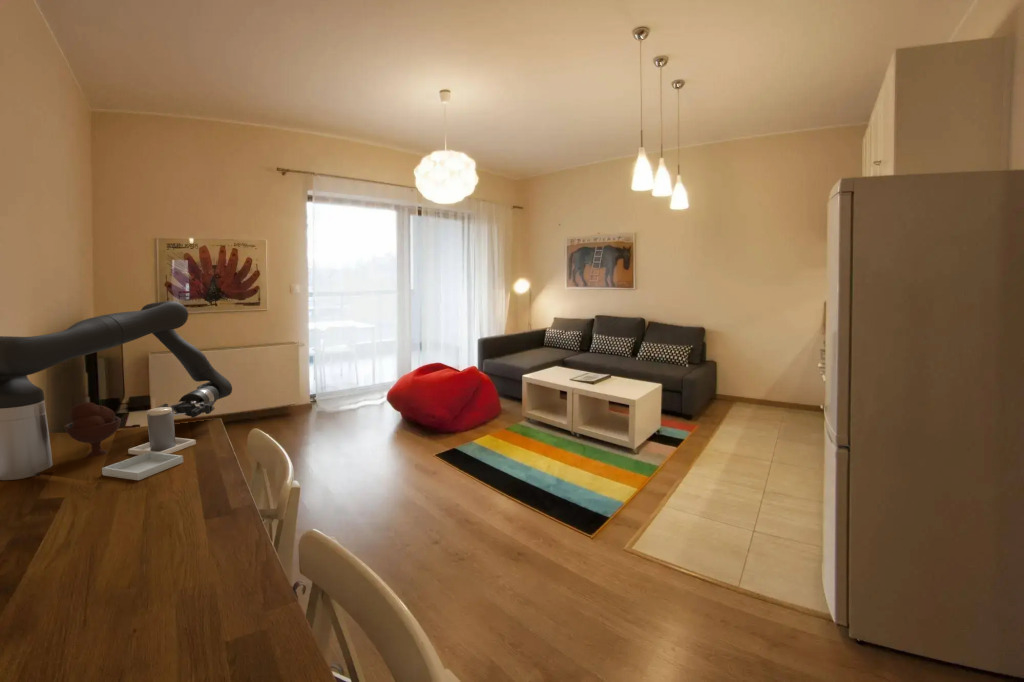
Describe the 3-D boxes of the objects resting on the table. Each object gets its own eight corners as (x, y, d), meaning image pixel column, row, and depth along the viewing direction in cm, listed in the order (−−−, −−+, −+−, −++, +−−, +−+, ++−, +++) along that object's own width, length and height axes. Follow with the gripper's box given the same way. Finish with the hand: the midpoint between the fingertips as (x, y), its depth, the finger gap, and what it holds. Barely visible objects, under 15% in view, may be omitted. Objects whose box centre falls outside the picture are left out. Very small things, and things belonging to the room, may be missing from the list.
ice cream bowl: (99, 465, 114) (93, 407, 112) (56, 464, 115) (49, 406, 113) (134, 449, 125) (129, 396, 123) (95, 449, 125) (89, 396, 123)
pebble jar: (144, 451, 122) (141, 411, 120) (165, 444, 127) (161, 406, 126) (161, 453, 120) (157, 413, 119) (181, 446, 126) (177, 407, 124)
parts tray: (129, 456, 120) (128, 449, 120) (167, 443, 130) (166, 436, 130) (159, 460, 118) (158, 453, 117) (196, 446, 128) (195, 439, 127)
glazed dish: (102, 478, 107) (101, 468, 106) (150, 460, 117) (149, 451, 117) (138, 483, 104) (137, 473, 104) (183, 465, 115) (182, 455, 114)
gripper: (170, 391, 145) (145, 404, 129) (221, 389, 149) (202, 401, 133) (172, 414, 146) (147, 429, 130) (222, 411, 150) (204, 426, 134)
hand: (175, 415), depth 132 cm, fingers open, 8 cm apart
